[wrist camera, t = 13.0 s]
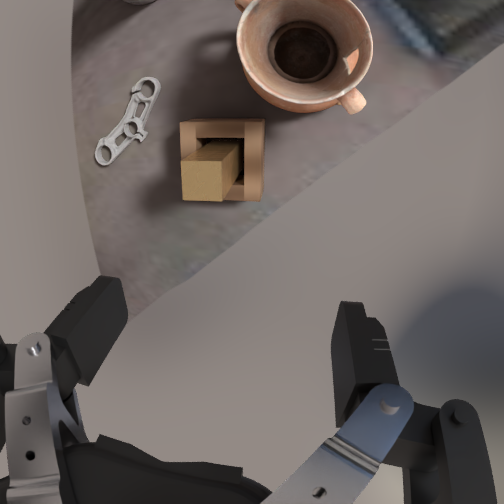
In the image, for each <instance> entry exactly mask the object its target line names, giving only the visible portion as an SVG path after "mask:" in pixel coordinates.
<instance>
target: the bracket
mask: <svg viewBox="0 0 504 504" xmlns="http://www.w3.org/2000/svg"><path fill="white" fill-rule="evenodd" d="M147 80H151V81H152V82H153V83H154V85H155V91H154V94H153V95H152V96H151V97H149V98H146V97H144V96H143V95H142V93H141V92H139V93H135V94H133V95H132V97H131V100H130V102H129V104H128V107H127V110H126V113H125V115H124V117H123V118H122V120H121V121H120V123H119V124H118V125H117V126H116V127H115V128H114V129H113V130H112V131H111V132H110V134H109V135H108V136H107V137H104V138H101V139H100V140H99V142H98V145H97V148H96V151H95V157H96V160H97V161H98V163H100V164H101V165H109V164H110V163H112V162H113V161H114V160H115V159H116V158H117V157H118V156H119V155H120V154H121V153H122V152H123V151H124V150H125V149H126V148H127V147H128V146H129V145H130V144H131V143H132V142H133V141H134V139H136V138H137V139H140V142H142V141H143V140H144V139H145V138H146V137H147V135H148V132H146V131H143V129H144V125H145V123H146V121H147V119H148V117H149V114H150V112H151V109H152V107H153V105H154V103H155V101H156V99H157V97H158V95H159V93H160V89H161V86H160V83H159V81H158V80H157V79H156V78H153V77H144V78H142V79H141V80H139V81H138V82H137V84H136V85H135V86H134V87H133V88H132V90H131V91H132V93H133V92H137V91H139V90H141V86H142V85H143V83H144V82H145V81H147ZM140 102H144V103H145V105H146V106H145V109H144V110H143V112H142V114H141V116H140V118H138V117H135V113H136V110H137V106H138V103H140ZM132 116H133V119H131V117H132ZM143 119H144V120H143ZM142 120H143V121H142ZM130 122H135V123H136V124H137V127H138V130H137V132H140V133H137V134H135V135H134V134H132V133H131V132H130V131H129V123H130ZM123 132H125V134H126V136H127V138H126V139H125V140H124V141H123V142H122V144H121V145H120V146H117V145H116V143H115V139H116V138H117V137H118V136H120V135H121V134H122V133H123ZM131 137H132V139H130V138H131ZM104 145H105V146H108V147H109V148H110V150H111V153H112V157H111V159H110V161H109V162H108V161H105V160H104V159H103V157H102V155H101V149H102V147H103V146H104Z"/></svg>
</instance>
